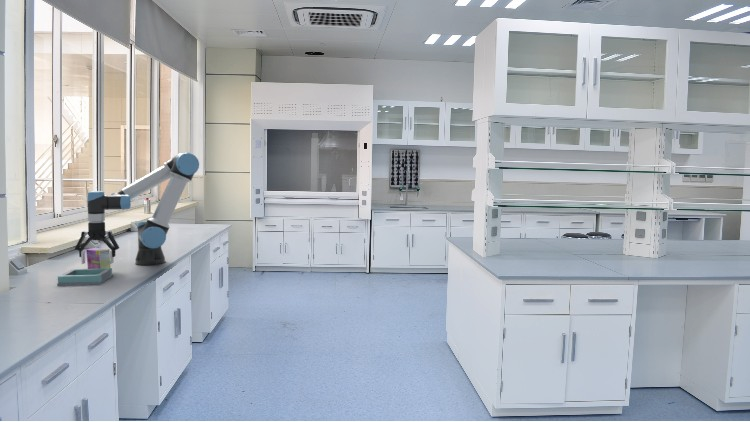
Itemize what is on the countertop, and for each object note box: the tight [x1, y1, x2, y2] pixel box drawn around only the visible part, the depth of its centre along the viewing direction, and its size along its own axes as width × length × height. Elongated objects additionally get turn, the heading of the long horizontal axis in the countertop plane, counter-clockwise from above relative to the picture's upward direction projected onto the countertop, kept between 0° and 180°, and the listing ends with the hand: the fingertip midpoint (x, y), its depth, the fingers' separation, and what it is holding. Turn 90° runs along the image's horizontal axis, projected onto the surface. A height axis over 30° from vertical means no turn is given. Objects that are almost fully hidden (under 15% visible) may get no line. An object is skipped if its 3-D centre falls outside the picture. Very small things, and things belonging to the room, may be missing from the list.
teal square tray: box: [56, 267, 114, 287], centre depth 248 cm, size 18×18×4 cm
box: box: [86, 247, 111, 269], centre depth 266 cm, size 10×6×12 cm, turn 62°
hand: (97, 263), depth 266 cm, fingers open, 13 cm apart
